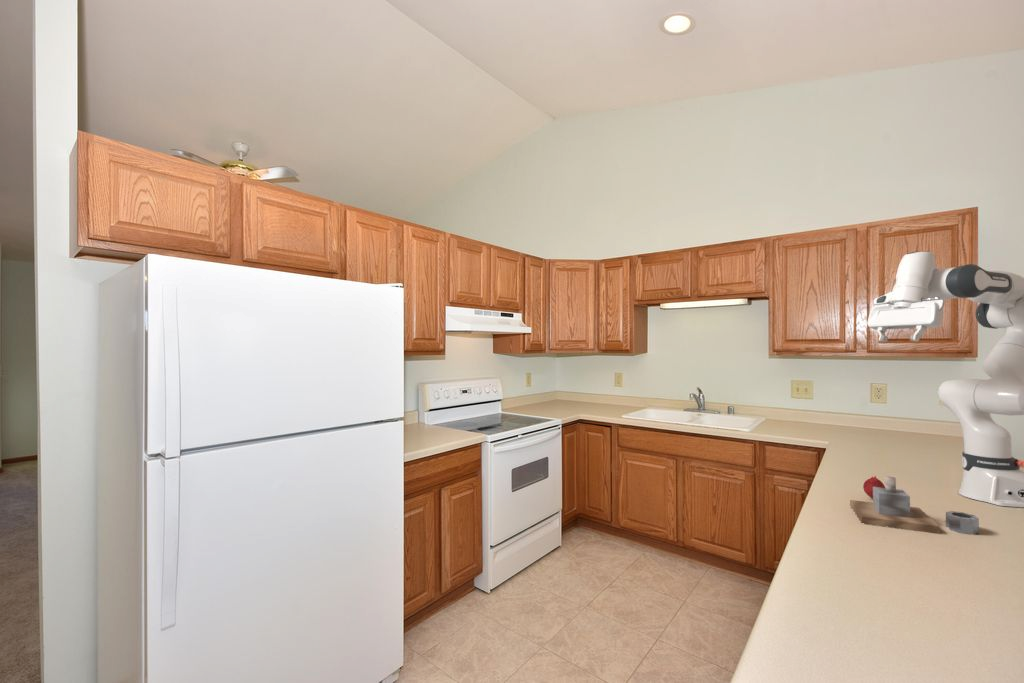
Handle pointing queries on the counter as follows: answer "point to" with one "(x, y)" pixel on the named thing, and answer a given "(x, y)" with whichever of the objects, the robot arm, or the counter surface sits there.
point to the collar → (962, 522)
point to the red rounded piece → (872, 485)
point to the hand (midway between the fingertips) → (897, 341)
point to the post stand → (893, 510)
